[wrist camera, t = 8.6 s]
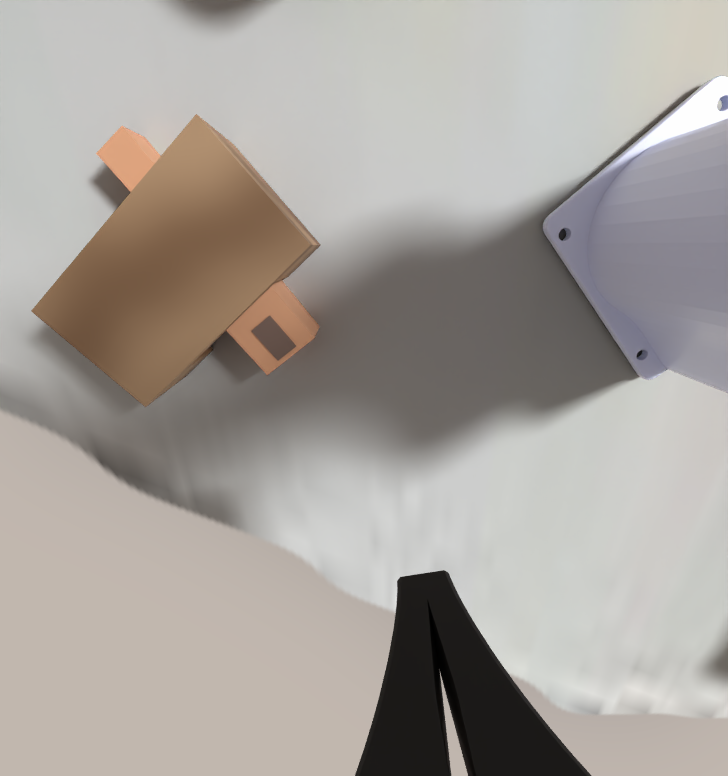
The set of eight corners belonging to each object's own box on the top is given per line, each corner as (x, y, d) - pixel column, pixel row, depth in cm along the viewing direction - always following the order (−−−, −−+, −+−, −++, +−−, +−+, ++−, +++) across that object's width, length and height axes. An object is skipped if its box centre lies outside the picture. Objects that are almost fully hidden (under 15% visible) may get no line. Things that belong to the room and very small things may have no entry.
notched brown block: (320, 245, 17) (310, 245, 13) (186, 376, 19) (145, 407, 15) (233, 144, 15) (196, 114, 12) (98, 297, 17) (31, 311, 14)
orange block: (319, 326, 18) (314, 338, 16) (278, 359, 18) (266, 375, 16) (155, 126, 15) (119, 105, 13) (111, 172, 16) (69, 159, 13)
